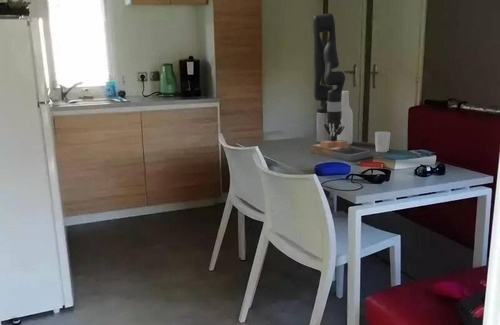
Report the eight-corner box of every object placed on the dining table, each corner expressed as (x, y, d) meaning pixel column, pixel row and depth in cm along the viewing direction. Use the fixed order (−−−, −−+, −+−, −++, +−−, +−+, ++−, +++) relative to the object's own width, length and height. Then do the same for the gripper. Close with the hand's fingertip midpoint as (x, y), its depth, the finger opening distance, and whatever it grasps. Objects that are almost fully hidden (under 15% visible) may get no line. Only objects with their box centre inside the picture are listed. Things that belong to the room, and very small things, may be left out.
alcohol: (333, 143, 298) (334, 91, 292) (346, 141, 302) (347, 90, 295) (342, 145, 291) (343, 92, 284) (355, 144, 294) (356, 91, 287)
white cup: (372, 152, 272) (373, 133, 270) (376, 149, 279) (377, 131, 276) (387, 153, 268) (388, 134, 266) (391, 150, 275) (391, 131, 273)
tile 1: (327, 145, 273) (327, 140, 273) (334, 146, 270) (334, 141, 269) (320, 146, 270) (320, 141, 270) (327, 147, 267) (327, 143, 266)
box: (352, 152, 271) (353, 147, 271) (371, 156, 262) (371, 150, 261) (331, 157, 262) (331, 152, 261) (350, 161, 253) (350, 155, 252)
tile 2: (339, 144, 274) (339, 139, 274) (347, 145, 271) (347, 141, 270) (333, 145, 271) (333, 141, 271) (340, 147, 268) (341, 142, 267)
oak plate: (329, 148, 283) (329, 141, 282) (351, 153, 271) (351, 145, 270) (310, 152, 275) (310, 145, 274) (333, 157, 262) (333, 149, 261)
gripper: (348, 110, 267) (348, 143, 271) (330, 108, 277) (329, 140, 281) (338, 112, 262) (338, 145, 266) (320, 109, 273) (320, 141, 277)
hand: (333, 142), depth 274 cm, fingers closed
